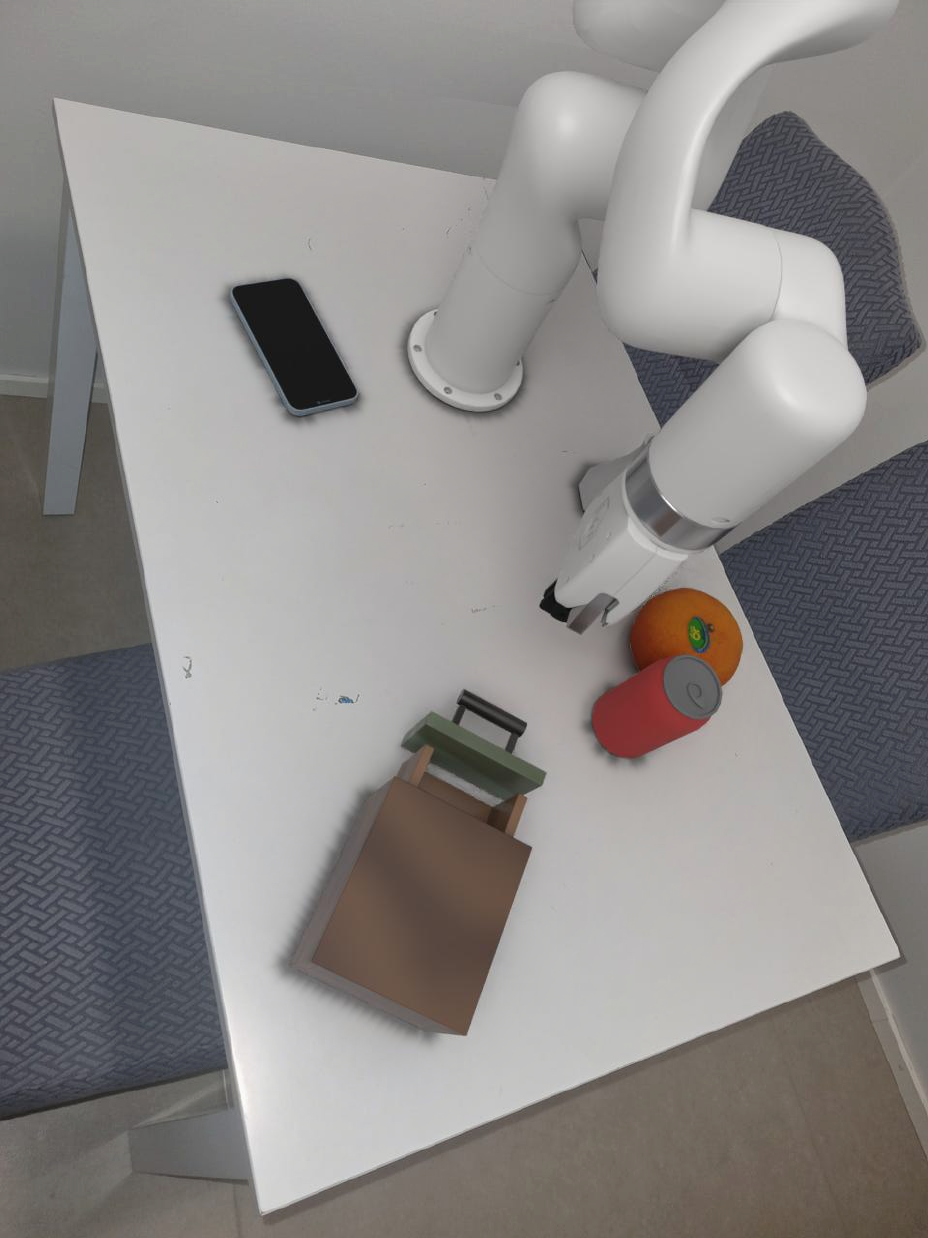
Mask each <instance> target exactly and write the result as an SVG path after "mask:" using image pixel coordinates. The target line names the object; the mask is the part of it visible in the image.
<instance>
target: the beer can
mask: <svg viewBox="0 0 928 1238" xmlns="http://www.w3.org/2000/svg"><path fill="white" fill-rule="evenodd" d="M722 687H723V686H722ZM722 687H721V683H720V681H719V678H718V676H717V674H716V673H715V671H714V670H713V668H712V667H711V666H710V665H709V664H708V663H706V662H705V661H704V660H703V659H701V658H699V657H697V656H694V655H688V654H683V655H679V656H672V657H668V658H663V659H659V660H658V661H656V662H655V663H653V664H651V665H650V666H648V667H646V668H645V669H643V670H642V671H638V672H637V673H635V674H633V675H632V676H630V677H628V678H627V679H625V680H624V681H622V682H620V683H619V684H617V685H616V686H614V687H613V688H611V689H609V690H607V691H606V692H605V693H603V694H602V695H601V696H599V698H598V699H597V701H596V702H595V704H594V706H593V710H592V714H591V717H592V718H591V721H592V728H593V731H594V734H595V737H596V739H597V740H598V741H599V742H600V744H601V745H602V747H603V748H604V749H606V750H607V751H608V752H609V753H610V754H612V755H614V756H617V757H619V758H623V759H635V758H638V757H642V756H644V755H646V754H649V753H650V752H652V751H654V750H657V749H659V748H661V747H664V746H666V745H668V744H670V743H672V742H674V741H676V740H679V739H681V738H683V737H685V736H687V735H689V734H692V733H694V732H697V731H698V730H700V729H701V728H702V727H703V726H704V725H706V724H707V723H708V722H709V721H710V720H711V718H712V716H714V715H715V714H716V713H717V712H718V710H719V709H720V707H721V705H722V701H723V688H722Z"/></svg>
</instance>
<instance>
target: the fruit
mask: <svg viewBox="0 0 928 1238" xmlns="http://www.w3.org/2000/svg"><path fill="white" fill-rule="evenodd" d="M629 646H630V651H631V654H632V655H631V656H632V658H633V661H634V664H635V666H636V668H637V670H638V672H640V671H642V670H643V669H645V668H646V667H648V666H650V665H651V664H653V663H655V662H656V661H658V660H659V659H663V658H668V657H672V656H679V655H683V654H688V655H694V656H697V657H699V658H701V659H703V660H704V661H705V662H706V663H708V664H709V665H710V666H711V667H712V668H713V670H714V671H715V673H716V674H717V676H718V678H719V681H720V683H721V687H723V686H725V685H726V684H728V682H729V681H730V680H731V679H732V678H733V676H734V675H735V673H736V672H737V670H738V667H739V666H740V662H741V658H742V654H743V650H744V640H743V634H742V630H741V628H740V626H739V623H738V621H737V620H736V618H735V617H734V615H733V613H732V612H731V610H730V609H729V608H728V607H727V606H726V605H725V604H724V603H723V602H722V601H720V600H719V599H717V598H716V597H715V596H713V595H711V594H709V593H707V592H704V591H702V590H699V589H695V588H691V587H680V588H675V589H670V590H665V591H663V592H661V593H659V594H656V595H655V596H653V597H651V598H649V599H647V601H646V602H645V603H644V604H643V605H642V607H641V608H640V609H639V610H638V612H637V615H636V616H635V618H634V620H633V623H632V625H631V628H630V632H629Z"/></svg>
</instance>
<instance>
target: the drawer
mask: <svg viewBox="0 0 928 1238" xmlns="http://www.w3.org/2000/svg"><path fill="white" fill-rule="evenodd" d="M455 704H456V705H458V706H457V708H456V710H455V712H454V715H453V717H452V718H451V720H450V719H447V718H446V717H443V716H442V715H440V714H438V713H436V712H435V711H433V710H431V711H430V712H428V713H427V714H426V715H425V716H424V717H423V718H422V719H421V720H419V722H418V723H416V725H414V726H413V727H412V728H411V729H410V730H409V731H408V732H406V734H405V735H404V738H403V740H402V741H401V743H400V747H402V748H403V749H405V750H407V751H409V752H411V753H413V754H412V755H411V756H410V757H409V758H407V759H406V760H405V761H404V762H402V763H401V765H400V767H399V769H398V772H397V774H396V777H398V778H400V779H402V780H404V781H406V782H408V783H410V784H412V785H414V786H415V787H417V788H419V789H421V790H423V791H425V792H427V793H429V794H431V795H433V796H435V797H437V798H439V799H440V800H442V801H444V802H446V803H448V804H450V805H452V806H454V807H456V808H458V809H460V810H462V811H464V812H465V813H467V814H469V815H471V816H473V817H475V818H477V819H479V820H481V821H483V822H485V823H487V824H489V825H490V826H492V827H494V828H496V829H498V830H500V831H502V832H504V833H506V834H508V835H510V836H512V837H514V836H515V835H516V831H517V828H518V825H519V823H520V820H521V817H522V815H523V812H524V809H525V806H526V803H527V801H528V797H527V796H526V794H529V793H531V792H533V791H535V790H536V789H539V788H541V787H543V785H544V782H545V779H546V777H547V772H546V771H545V770H543V769H542V768H540V767H538V766H536V765H534V764H532V763H530V762H528V761H527V760H524V759H523V758H521V757H518V756H517V755H515V754H514V751H515V748H516V746H517V742H518V740H519V738H522V736H523V735H524V733H525V732H526V730H527V727H528V722H527V721H525V720H523V719H521V718H520V717H517V716H516V715H514V714H512V713H510V712H509V711H507V710H504V709H503V708H501V707H499V706H498V705H496V704H494V703H491V702H489V701H488V700H486V699H484V698H482V697H480V696H478V695H477V694H475V693H474V692H472V691H469V690H467V689H466V688H463V689H462V690H461V692H460V693H459V695H458V697H457V699H456V703H455ZM466 710H467V711H469V712H470V713H472V714H474V715H476V716H478V717H480V718H481V719H484V720H485V721H487V722H489V723H491V724H492V725H495V726H496V727H498V728H500V729H502V730H504V731H506V732H508V733H509V734H510V735H509V737H508V740H507V742H506V745H505V747H504V748H502V747H500V746H499V745H496V744H495V743H492V742H491V741H489V740H487V739H485V738H483V737H481V736H479V735H477V734H476V733H474V732H472V731H470V730H468V729H466V728H464V727H463V726H460V723H461V721H462V719H463V716H464V714H465V712H466ZM429 763H432V764H434V765H436V766H438V767H440V768H441V769H443V770H445V771H447V772H449V773H451V774H453V775H454V776H457V777H458V778H461V779H462V780H464V781H466V782H468V783H470V784H472V785H473V786H476V787H477V788H480V789H481V790H483V791H485V792H487V793H489V794H490V795H493V796H495V797H496V798H499V799H500V800H502V801H501V802H499V803H497V804H495V805H493V806H492V805H490V804H489V803H486V802H484V801H482V800H481V799H478V798H477V797H475V796H473V795H471V794H469V793H467V792H466V791H463V790H462V789H460V788H457V787H455V786H454V785H452V784H450V783H448V782H446V781H444V780H442V779H441V778H438V777H437V776H435V775H433V774H431V773H429V772H427V769H428V766H429ZM514 838H515V837H514Z"/></svg>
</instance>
